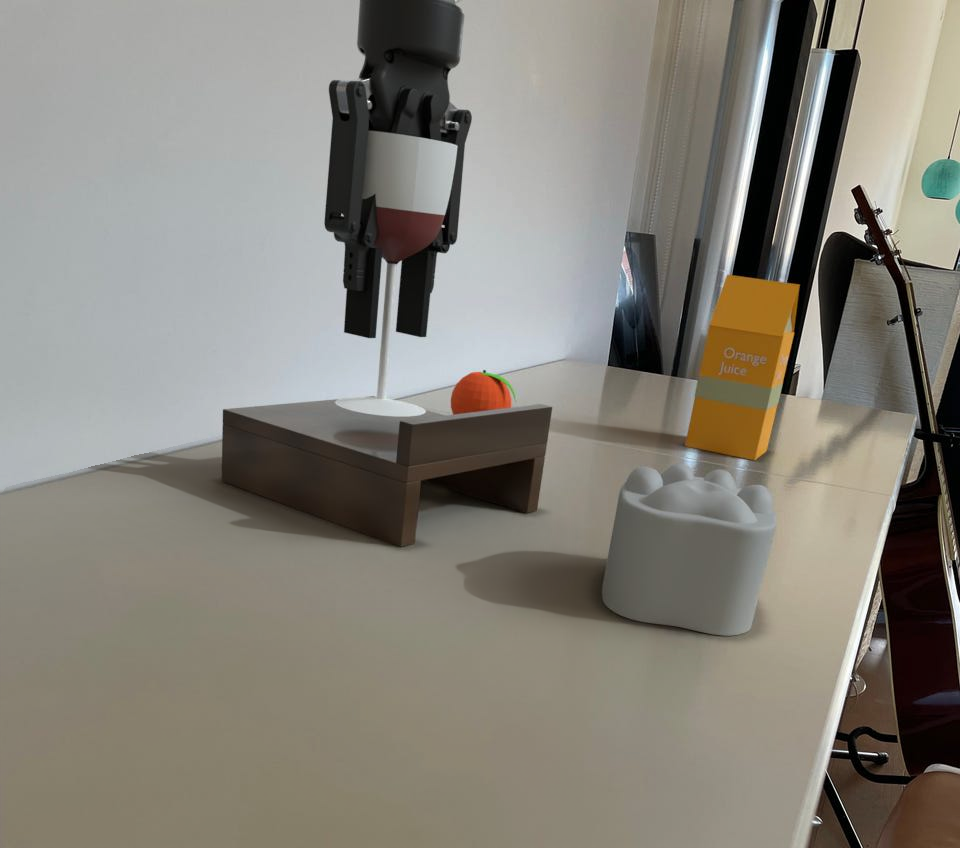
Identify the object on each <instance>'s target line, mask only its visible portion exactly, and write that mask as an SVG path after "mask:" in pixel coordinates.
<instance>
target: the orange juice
mask: <svg viewBox="0 0 960 848" xmlns="http://www.w3.org/2000/svg"><path fill="white" fill-rule="evenodd" d="M800 286H801V284H798V283H791V282H783V281H777V280H769V279H764V278H763V279H762V278H755V277H747V276H740V275H734V274H726V276H725V280H724V282H723V285H722V288H721V291H720V294H719V296H718V299H717V302H716V304H715V307H714V311H713V313H712V316H711V319H710V322H709V324H708V330H707V335H706V338H705V339H706V340H705V344H704V350H703V354H702V355H703V356H702V359H701V365H700V369H699V374H698V377H697V382H696V387H695V392H694V399H693V404H692V408H691V414H690V419H689V423H688V429H687V434H686V439H685V444H684V447H688V448H692V449H693V448H694V449H698V450H703V451H707V452H713V453H717V454H722V455H726V456H733V457H736V458H737V457H738V458H742V459H747V460H750V461H756V460H758V458H760V457H761V456H762V455H764V454H765V453H766V452H767V451H768V448H769V447H768V446H769V443H770V440H771V439H770V438H771V435H772V430H773V426H774V421H775V417H776V413H777V408H778V405H779V402H780V398H781V393H782V389H783V384H784V378H785V376H786V375H785V374H786V371H787V366H788V361H789V358H790V353H791V350H792V344H793V341H794V336H795V327H796V326H795V325H796V317H797V309H798V302H799V295H800V294H799V293H800Z"/></svg>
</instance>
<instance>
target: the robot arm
mask: <svg viewBox="0 0 960 848" xmlns="http://www.w3.org/2000/svg"><path fill="white" fill-rule="evenodd" d="M462 1H463V0H359V7H358V8H359V9H358V23H357V38H356V46H357V50H358V52H359V53H360V54H361V55H362V56H364V61H363V65H362V68H361V70H360V71H359V75H358V78H355V79H352V80H345V79H342V80H341V79H333V80H331V81H330V82H329V84H328V95H329V101H330V109H331V116H332V122H331V134H330V146H329V159H328V172H327V184H326V195H325V197H326V198H325V210H324V228H325V230H326V231H327V232H329V233H333V237H334V240H335V241H336V242H340V243H343V244H344V259H343V274H342V276H343V277H342V284H343V289H346V293H345V309H344V322H343V323H344V325H343V334H344V333H345V334H349V335H354V336H357V337H362V338H367V339H376V338H377V329H378V328H377V327H378V316H379V315H378V312H379V300H380V288H381V276H382V274H381V273H382V262H383V258H382V250H383V249H380V248H374V247H370V246H372V245H373V244H374V242H375V239H376V235H377V232H378V222H377V212H376V193H375V194H374V195H373V196H371V197H369V198H367V199H362V196H363V185H364V174H365V163H366V152H367V141H368V130H369V131H378V132H386V133H394V134H401V135H408V136H414V137H421V138H426V139H432V140H437V141H442V142H447V143H451V144H454V145H457V146H458V147H457V155H456V163H455V170H454V175H453V181H452V187H451V192H450V197H449V201H448V205H447V209H446V213H445V216H444V220H443V223H442V226H441V229H440V231H439V233H438V235H437V237H436V238H435V240H434V241H433V242H432V243H431V244H429V245H428V246H427V247H426V248H424V249H423V250H421V251H419V252H417V253H415V254H413V255H411V256H409V257H407V258H405V259H404V260H402V261H401V264H400V276H399V286H398V287H399V288H398V299H397V301H398V302H397V311H396V322H395V323H396V324H395V333H398V334H399V333H400V334H404V335H409V336H412V337H413V336H414V337H417V338H427V332H428V323H429V322H428V321H429V313H430V301H431V294H432V293H433V291H434V286H435V278H436V277H435V276H436V275H435V274H436V267H437V257H438V253H439V254H447V253H448V252H449V250H450V248H451V246H453V245H455V244H456V243H457V240H458V235H459V234H458V231H459V221H460V220H459V219H460V209H461V208H460V207H461V197H462V185H463V172H464V160H465V148H466V142H467V138H468V136H469V135H468V134H469V132H470V128H471V125H472V122H473V121H472V120H473V116H472V112H471V111H470V110H469V109H459V108H458V107H456V106H455V105H454V104H453V103H452V102H451V93H450V90H449V74H450V72H451V70H452V69H454V68H456V67H458V66H459V64H460V62H461V56H462V55H461V54H462V44H463V35H464V34H463V33H464V24H465V13H463V10H462V8H461V7H460V6H458V5H457V4H459V3H461V2H462ZM360 222H362V223H363V226H362V225H361V224H360Z"/></svg>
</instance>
